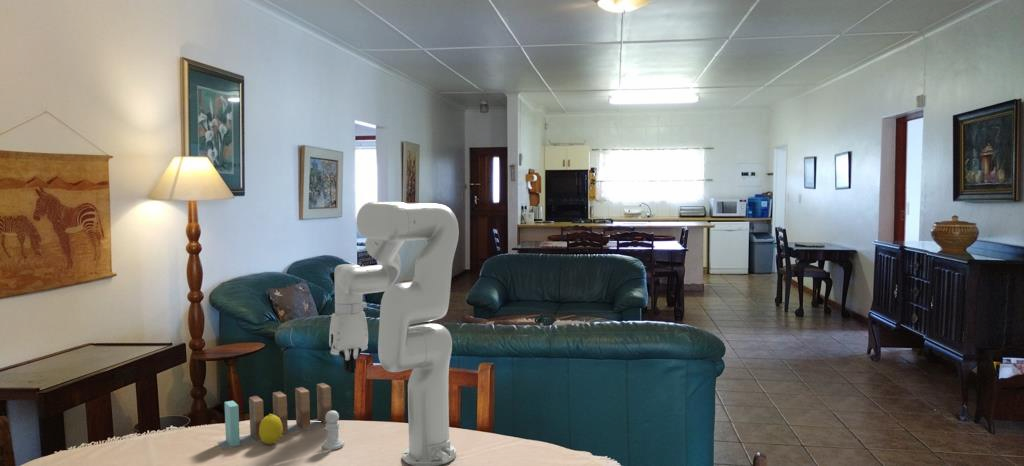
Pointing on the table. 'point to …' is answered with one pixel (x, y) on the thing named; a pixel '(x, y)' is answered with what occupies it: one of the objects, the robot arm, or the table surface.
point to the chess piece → (332, 431)
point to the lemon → (270, 429)
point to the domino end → (232, 423)
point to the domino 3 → (302, 408)
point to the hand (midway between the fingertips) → (349, 372)
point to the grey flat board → (250, 439)
